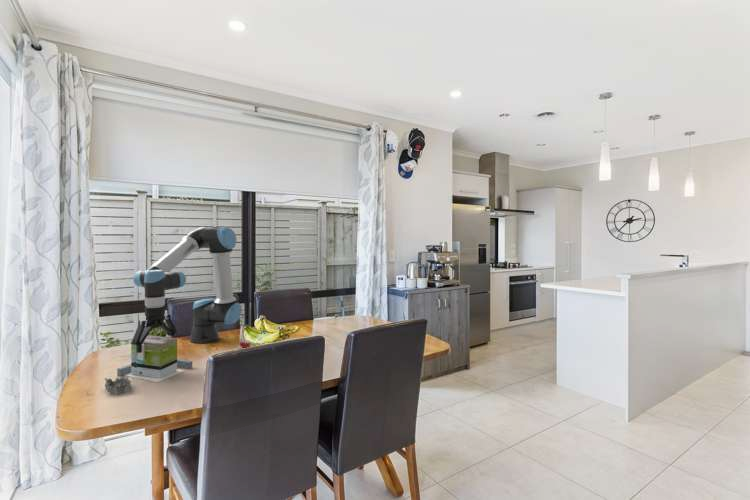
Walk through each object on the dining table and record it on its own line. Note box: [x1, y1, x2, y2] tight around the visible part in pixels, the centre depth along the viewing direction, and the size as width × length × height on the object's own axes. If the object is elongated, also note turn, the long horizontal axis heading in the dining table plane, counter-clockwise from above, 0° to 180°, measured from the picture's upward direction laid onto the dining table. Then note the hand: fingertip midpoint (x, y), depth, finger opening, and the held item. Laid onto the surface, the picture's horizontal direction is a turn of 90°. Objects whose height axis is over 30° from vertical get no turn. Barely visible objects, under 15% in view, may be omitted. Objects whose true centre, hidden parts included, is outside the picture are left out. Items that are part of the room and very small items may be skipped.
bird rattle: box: [237, 341, 251, 349], centre depth 177 cm, size 6×11×9 cm
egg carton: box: [104, 376, 132, 396], centre depth 147 cm, size 11×8×4 cm
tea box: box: [130, 334, 178, 378], centre depth 163 cm, size 15×10×15 cm, turn 77°
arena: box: [116, 358, 193, 383], centre depth 166 cm, size 20×22×3 cm
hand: (155, 354), depth 164 cm, fingers open, 13 cm apart
